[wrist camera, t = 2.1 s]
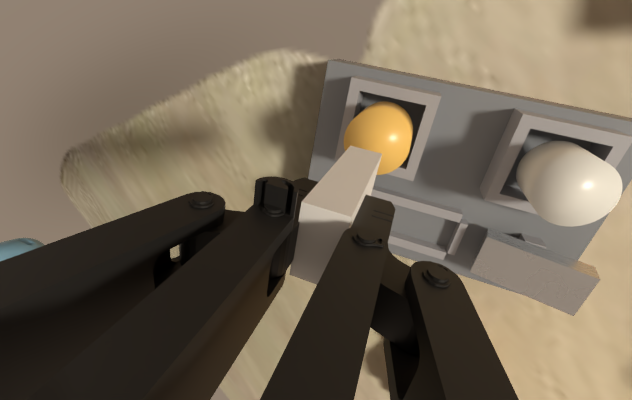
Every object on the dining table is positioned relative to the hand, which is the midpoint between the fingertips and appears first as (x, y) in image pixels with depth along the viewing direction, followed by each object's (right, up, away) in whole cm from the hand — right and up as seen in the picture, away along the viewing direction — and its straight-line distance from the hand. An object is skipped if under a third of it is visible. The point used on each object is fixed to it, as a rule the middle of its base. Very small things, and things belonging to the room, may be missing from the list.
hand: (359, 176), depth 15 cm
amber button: (+3, +4, +10) cm, 11 cm away
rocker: (+15, -7, +11) cm, 20 cm away
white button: (+14, +1, +7) cm, 16 cm away
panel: (+10, +2, +16) cm, 19 cm away
